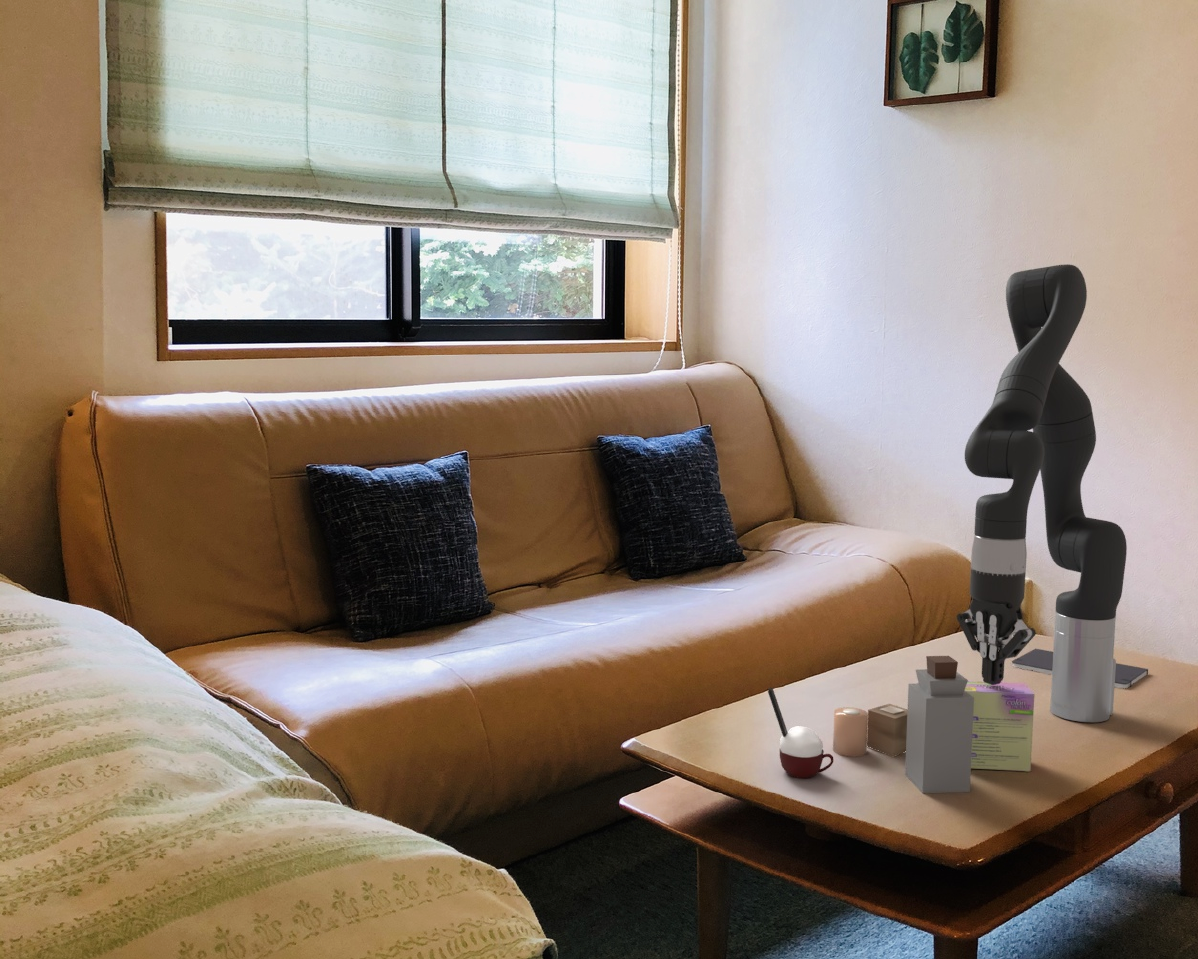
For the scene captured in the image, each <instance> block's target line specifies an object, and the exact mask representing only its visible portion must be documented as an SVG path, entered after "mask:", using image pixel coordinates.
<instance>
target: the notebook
mask: <svg viewBox="0 0 1198 959" xmlns="http://www.w3.org/2000/svg"><path fill="white" fill-rule="evenodd" d="M1011 663H1012V667H1013V666H1015V667H1019V668H1018V669H1020V668H1023V669H1022V670H1025V669H1028V670H1027V671H1030V670H1033V671H1032V672H1035V671H1037V672H1036V673H1041V672H1042V673H1041V674H1045V675H1046V674H1047V675H1051V676H1052V667H1053V651H1051V650H1045V649H1040V648H1034V649H1032V650H1030V651H1028V652H1026V653H1025V654H1022V655H1021V656H1018V657H1016V658H1014V659H1013V660H1011ZM1015 667H1014V668H1015ZM1148 674H1149V668H1144V667H1138V666H1135V665H1134V666H1133V665H1128V664H1122V663H1118V662H1116V670H1115V687H1114V688H1118V689H1123V688H1124V689H1125V688H1126V689H1128V688H1129V687H1130V688H1131V687H1132V686H1133V685H1134V684H1135V683H1137V682H1138V681H1140V680H1141V679H1142V678H1143V677H1145V676H1146V675H1148ZM1133 683H1134V684H1133ZM1124 689H1123V690H1124ZM1126 689H1125V690H1126Z"/></svg>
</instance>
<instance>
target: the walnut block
mask: <svg viewBox="0 0 1198 959" xmlns="http://www.w3.org/2000/svg"><path fill="white" fill-rule="evenodd" d="M907 712H908V708H907V709H906V708H904V707H902V706H901V707H900V706H898V705H895V704H891V703H887V704H883V705H880V706H877V707H874V708H870V709H867V713H868V725H867V746H868V747H871V748H873V749H876V750H879V751H881V752H884V753H886V754H885V755H887V754H889V755H888V756H890V755H891V756H890V757H892V756H894V757H896V756H895V755H897V756H899V755H898V754H900V753H903V752H905V751H906V738H907ZM868 747H867V748H868ZM873 749H872V750H873ZM876 750H875V751H876ZM879 751H878V752H879ZM881 752H880V753H881ZM884 753H883V754H884ZM903 754H904V753H903ZM900 755H901V754H900Z"/></svg>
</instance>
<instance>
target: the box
mask: <svg viewBox="0 0 1198 959" xmlns="http://www.w3.org/2000/svg"><path fill="white" fill-rule="evenodd" d="M965 691H966V692H968V693H969V694H970V695H972V696H973V697H974V710H973V732H972V754H971V770H973V769H977V770H997V771H998V770H999V771H1013V772H1015V771H1016V772H1026V773H1027V772H1031V770H1032V768H1031V767H1032V766H1031V765H1032V764H1031V763H1032V749H1033V748H1032V747H1033V745H1032V744H1033V731H1034V730H1033V727H1034V708H1035V693H1034V691H1033V690H1032V689H1031V688H1030V687H1029V686H1028V685H1027V684H1026V683H1024V682H1002V681H1001V683H1000V684H996V685H991V684H988V683H985V682H984V681H974V680H973V681H972V680H971V681H970V680H968V682H967V684H966V687H965Z"/></svg>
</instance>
